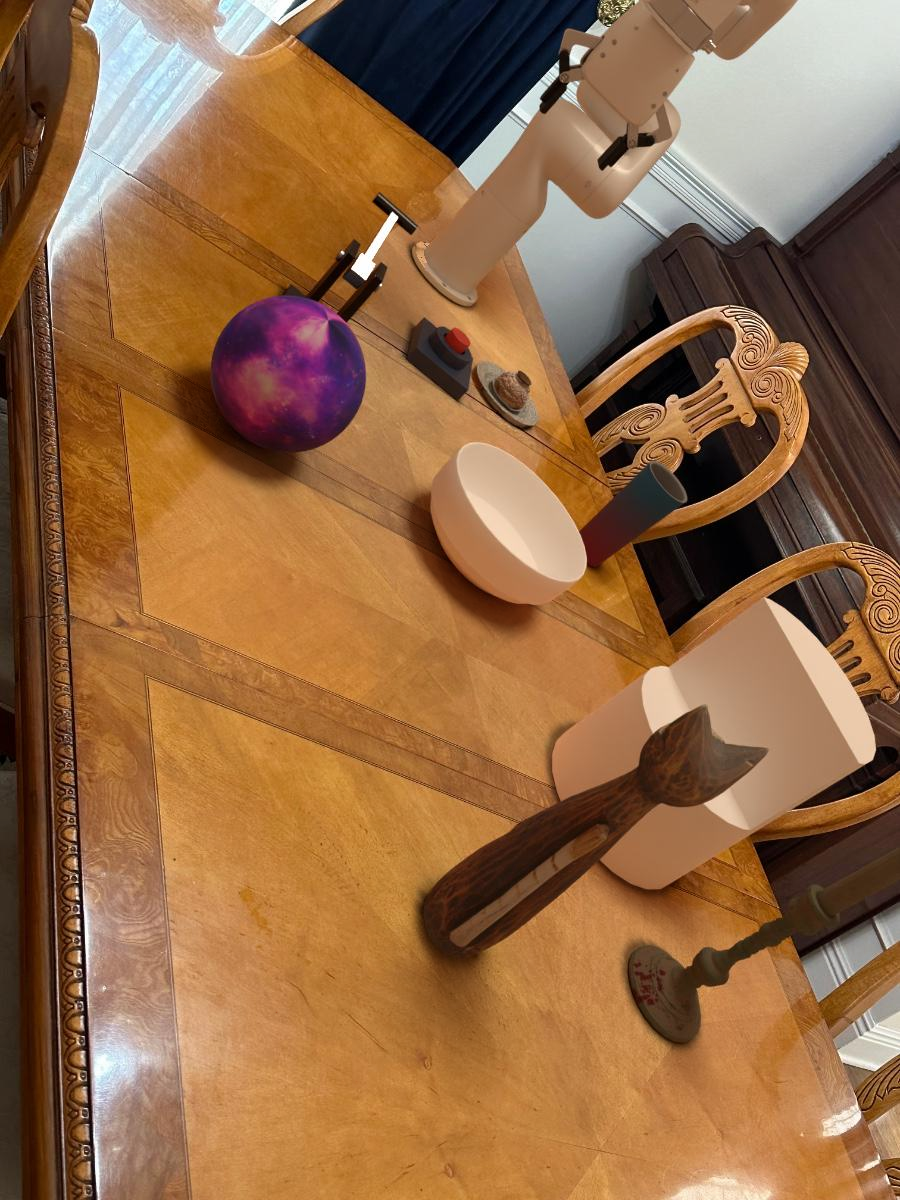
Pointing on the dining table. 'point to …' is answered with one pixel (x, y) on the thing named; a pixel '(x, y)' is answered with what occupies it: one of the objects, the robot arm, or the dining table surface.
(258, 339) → the decorative orb
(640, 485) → the cup
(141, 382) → the dining table surface
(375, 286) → the bracket
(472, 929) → the sculpture
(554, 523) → the bowl
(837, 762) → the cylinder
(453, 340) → the button
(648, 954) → the candlestick holder
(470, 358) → the button box
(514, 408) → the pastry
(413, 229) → the lever
